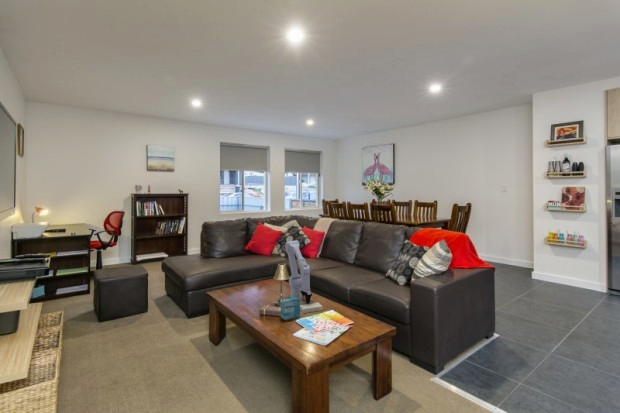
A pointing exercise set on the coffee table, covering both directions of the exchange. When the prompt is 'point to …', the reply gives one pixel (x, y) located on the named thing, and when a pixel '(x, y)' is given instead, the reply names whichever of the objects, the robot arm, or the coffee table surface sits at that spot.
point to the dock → (311, 307)
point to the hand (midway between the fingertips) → (306, 301)
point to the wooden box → (305, 301)
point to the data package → (290, 308)
